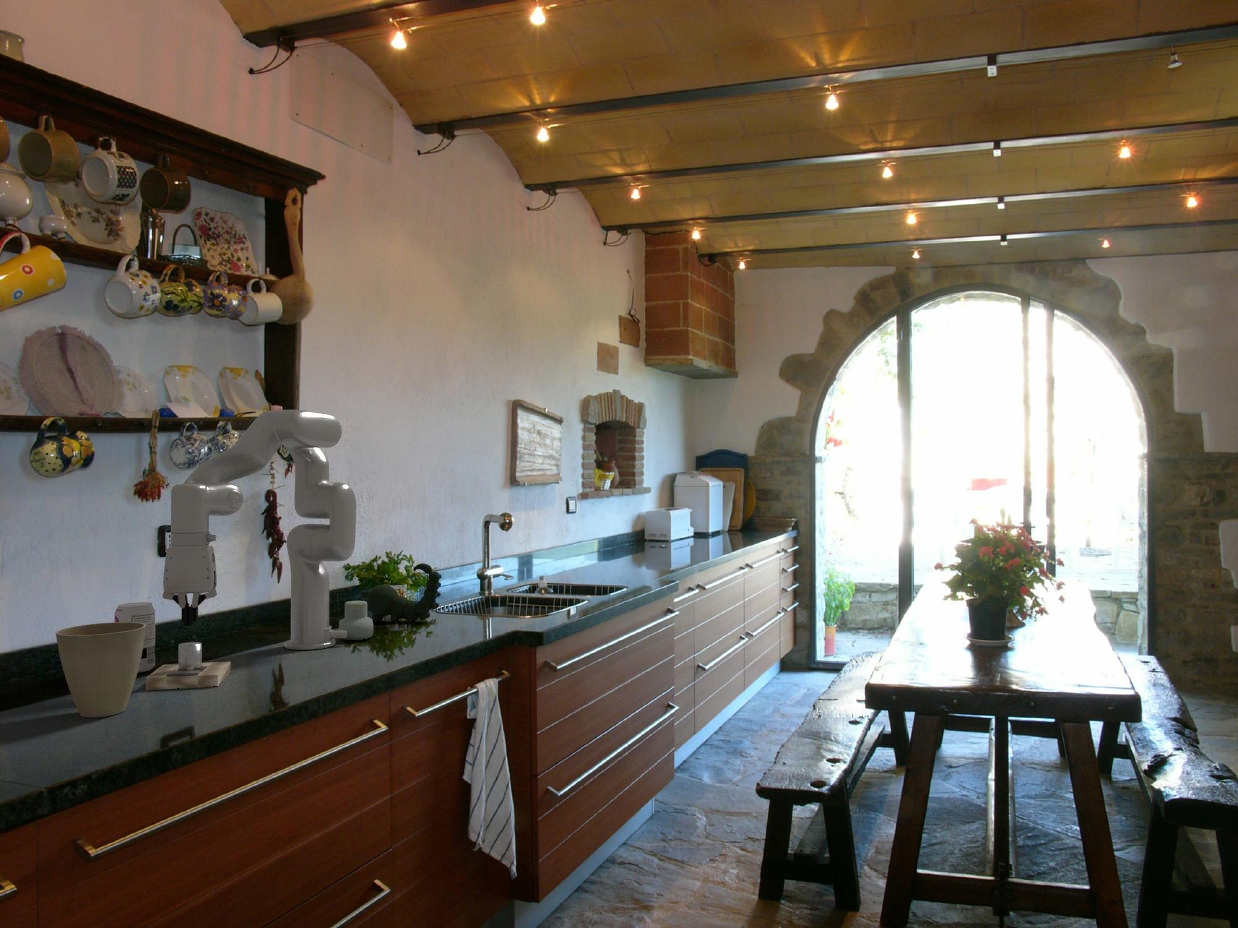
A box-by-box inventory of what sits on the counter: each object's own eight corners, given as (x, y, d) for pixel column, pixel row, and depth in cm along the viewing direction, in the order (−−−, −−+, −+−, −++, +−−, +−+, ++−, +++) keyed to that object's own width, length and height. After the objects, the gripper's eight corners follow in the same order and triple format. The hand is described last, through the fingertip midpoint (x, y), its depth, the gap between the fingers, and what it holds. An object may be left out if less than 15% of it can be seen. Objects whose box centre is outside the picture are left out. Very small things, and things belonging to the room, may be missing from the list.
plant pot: (125, 699, 187) (125, 619, 187) (159, 711, 177) (160, 626, 178) (42, 714, 175) (42, 628, 176) (74, 727, 166) (74, 637, 166)
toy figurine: (440, 625, 286) (362, 616, 289) (446, 563, 286) (367, 555, 289) (430, 630, 276) (350, 621, 279) (436, 566, 276) (355, 558, 279)
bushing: (203, 678, 206) (203, 641, 206) (199, 682, 201) (199, 645, 201) (181, 679, 205) (181, 642, 205) (175, 683, 200) (176, 646, 200)
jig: (230, 672, 211) (230, 658, 211) (217, 686, 198) (217, 671, 198) (163, 675, 208) (163, 661, 208) (145, 689, 195) (145, 675, 195)
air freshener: (374, 641, 250) (374, 603, 250) (342, 643, 247) (342, 605, 247) (369, 634, 260) (369, 598, 260) (338, 636, 257) (338, 600, 257)
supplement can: (110, 674, 209) (110, 607, 210) (119, 667, 217) (119, 602, 217) (150, 672, 212) (150, 606, 212) (158, 665, 220) (158, 601, 220)
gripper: (230, 538, 208) (230, 621, 208) (157, 540, 205) (157, 623, 205) (223, 541, 201) (223, 626, 201) (147, 542, 198) (147, 629, 198)
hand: (189, 625), depth 203 cm, fingers closed
